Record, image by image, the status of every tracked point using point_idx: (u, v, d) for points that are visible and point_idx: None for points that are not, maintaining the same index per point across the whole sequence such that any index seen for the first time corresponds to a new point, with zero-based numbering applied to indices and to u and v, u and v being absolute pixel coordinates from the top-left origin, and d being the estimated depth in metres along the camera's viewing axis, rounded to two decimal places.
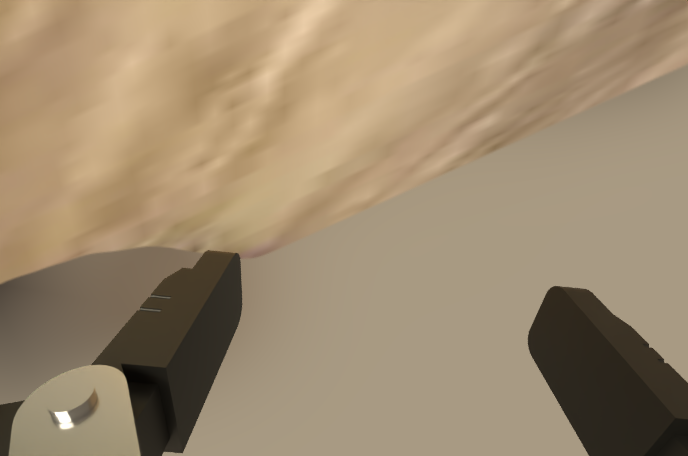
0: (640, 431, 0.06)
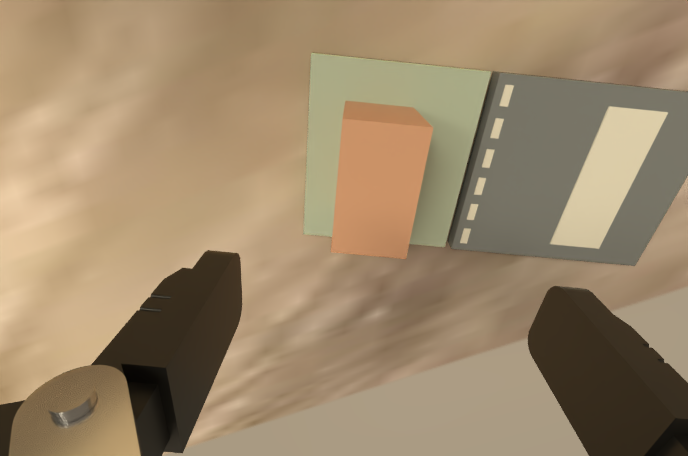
0: (640, 431, 0.06)
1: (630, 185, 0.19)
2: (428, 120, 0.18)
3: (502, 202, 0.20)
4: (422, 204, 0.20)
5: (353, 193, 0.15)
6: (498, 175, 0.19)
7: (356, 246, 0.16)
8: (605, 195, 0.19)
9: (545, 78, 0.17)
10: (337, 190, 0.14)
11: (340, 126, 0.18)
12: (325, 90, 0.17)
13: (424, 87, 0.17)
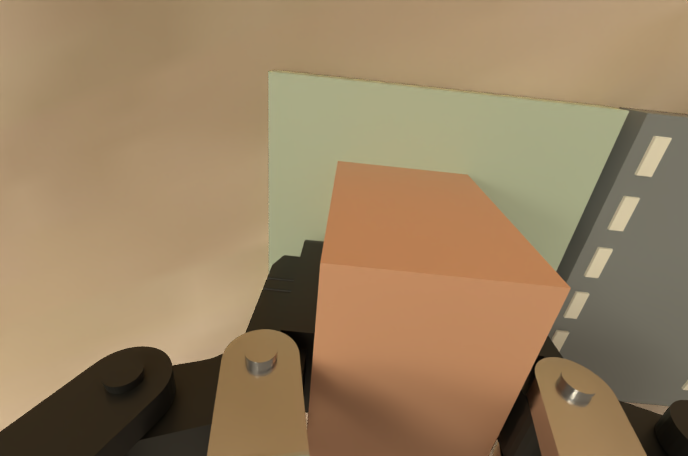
0: None
1: None
2: (494, 197, 0.10)
3: (611, 329, 0.11)
4: None
5: (350, 409, 0.06)
6: (611, 289, 0.11)
7: None
8: None
9: None
10: (312, 403, 0.06)
11: (328, 205, 0.10)
12: (299, 142, 0.09)
13: (492, 139, 0.09)
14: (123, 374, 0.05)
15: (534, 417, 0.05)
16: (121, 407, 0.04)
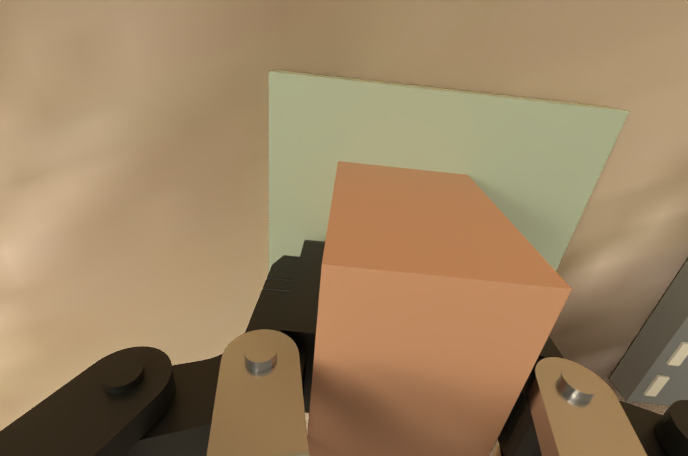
0: None
1: None
2: (494, 197, 0.10)
3: None
4: None
5: (350, 409, 0.06)
6: None
7: None
8: None
9: None
10: (312, 404, 0.06)
11: (328, 205, 0.10)
12: (299, 142, 0.09)
13: (492, 139, 0.09)
14: (123, 375, 0.05)
15: (534, 417, 0.05)
16: (121, 407, 0.04)
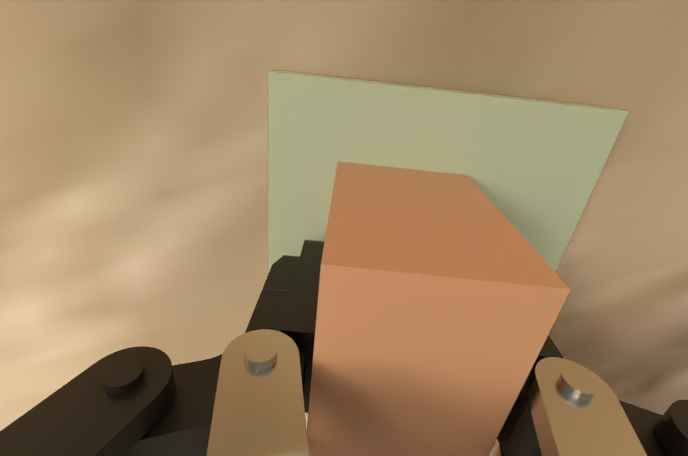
0: None
1: None
2: (493, 198, 0.10)
3: None
4: None
5: (350, 409, 0.06)
6: None
7: None
8: None
9: None
10: (312, 404, 0.06)
11: (328, 205, 0.10)
12: (299, 142, 0.09)
13: (491, 139, 0.09)
14: (123, 375, 0.05)
15: (534, 417, 0.05)
16: (121, 407, 0.04)
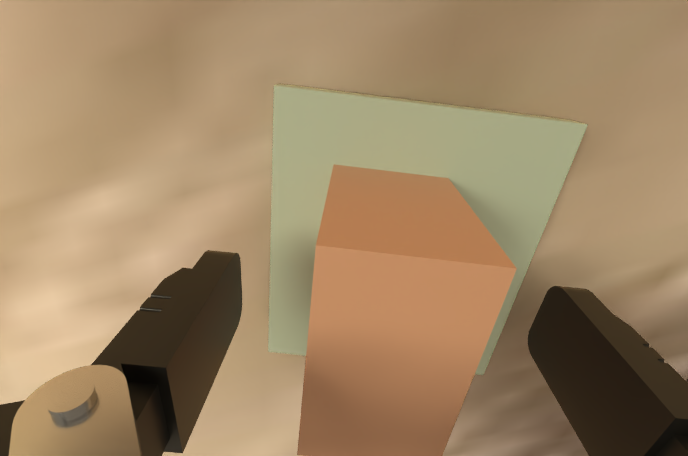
0: (640, 431, 0.06)
1: None
2: (472, 199, 0.11)
3: None
4: None
5: (339, 373, 0.07)
6: None
7: (344, 448, 0.08)
8: None
9: None
10: (307, 368, 0.07)
11: (325, 203, 0.11)
12: (299, 147, 0.10)
13: (469, 147, 0.10)
14: None
15: None
16: None
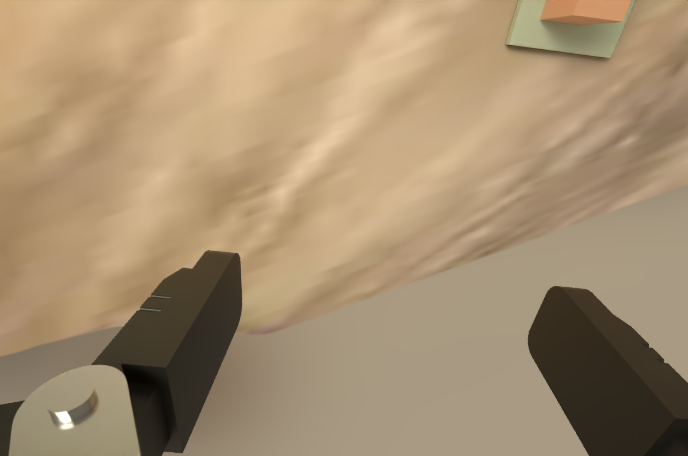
0: (640, 431, 0.06)
1: None
2: None
3: None
4: None
5: None
6: None
7: (591, 10, 0.24)
8: None
9: None
10: None
11: None
12: None
13: None
14: None
15: None
16: None
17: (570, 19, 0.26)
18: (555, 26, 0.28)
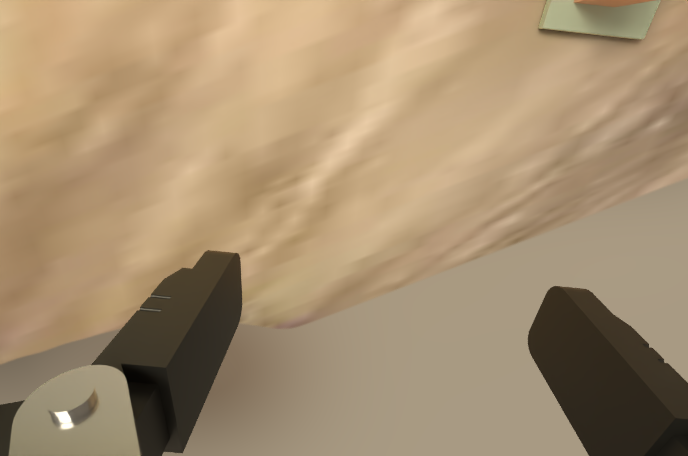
0: (640, 431, 0.06)
1: None
2: None
3: None
4: None
5: None
6: None
7: None
8: None
9: None
10: None
11: None
12: None
13: None
14: None
15: None
16: None
17: None
18: (589, 8, 0.29)
